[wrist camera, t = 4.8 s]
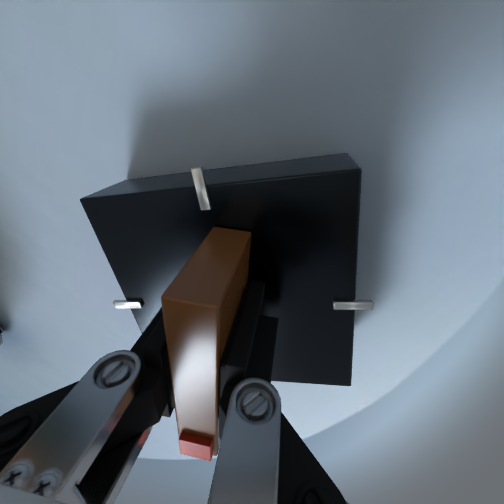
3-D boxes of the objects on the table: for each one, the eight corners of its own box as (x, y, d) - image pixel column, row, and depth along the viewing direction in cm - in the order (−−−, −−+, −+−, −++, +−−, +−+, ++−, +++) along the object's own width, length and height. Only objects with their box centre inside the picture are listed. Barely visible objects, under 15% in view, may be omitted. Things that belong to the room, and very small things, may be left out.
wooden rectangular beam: (213, 225, 9) (153, 303, 6) (252, 231, 9) (215, 314, 5) (213, 355, 13) (176, 455, 9) (241, 361, 13) (215, 465, 9)
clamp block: (365, 133, 10) (388, 144, 7) (354, 345, 15) (364, 399, 12) (109, 168, 12) (54, 185, 9) (176, 339, 17) (152, 382, 15)
